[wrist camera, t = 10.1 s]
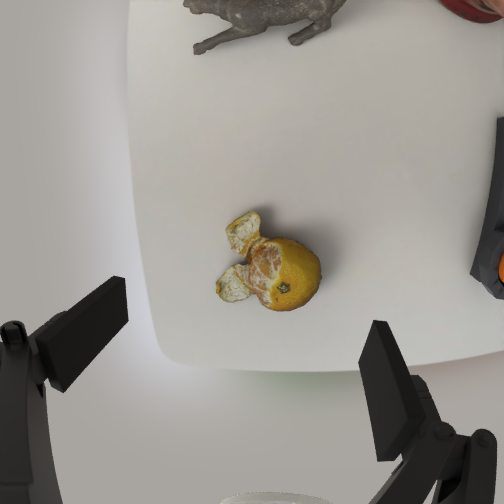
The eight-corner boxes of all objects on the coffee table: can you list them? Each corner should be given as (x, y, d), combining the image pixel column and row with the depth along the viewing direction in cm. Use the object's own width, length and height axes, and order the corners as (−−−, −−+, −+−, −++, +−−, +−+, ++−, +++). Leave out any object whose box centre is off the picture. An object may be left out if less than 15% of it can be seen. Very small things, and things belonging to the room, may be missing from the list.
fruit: (231, 206, 24) (220, 214, 20) (333, 230, 23) (339, 243, 20) (214, 296, 27) (203, 317, 23) (305, 319, 26) (306, 342, 23)
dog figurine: (332, -11, 17) (341, -59, 10) (347, 43, 18) (366, 2, 11) (192, 9, 19) (158, -30, 12) (199, 63, 21) (162, 32, 14)
